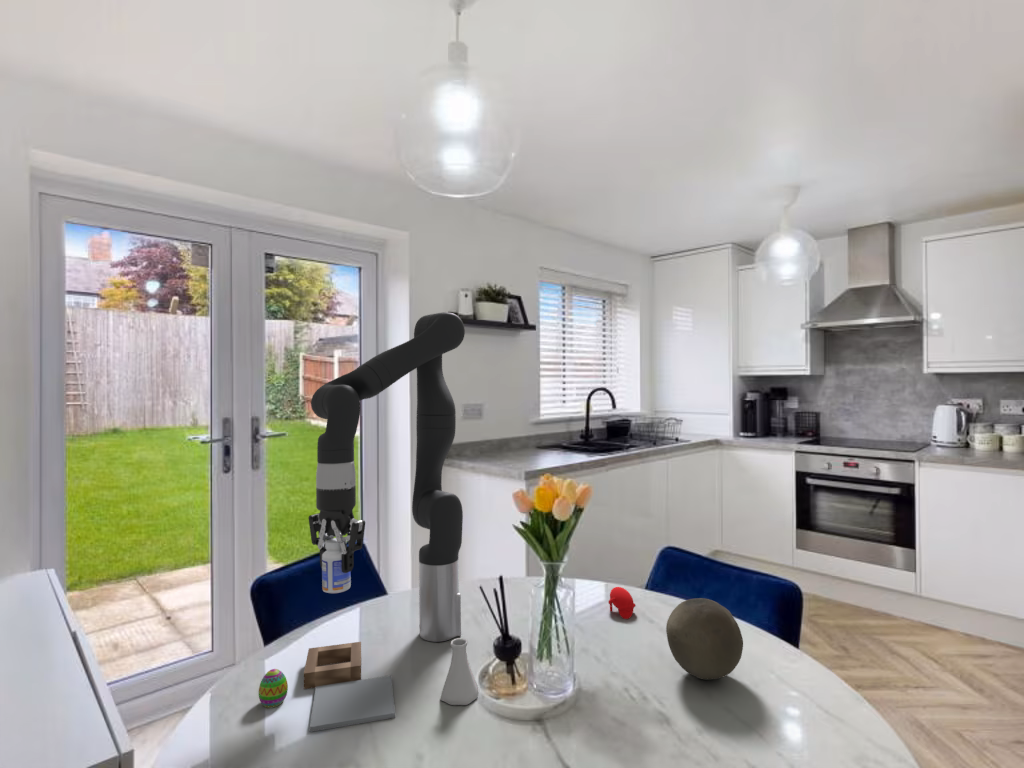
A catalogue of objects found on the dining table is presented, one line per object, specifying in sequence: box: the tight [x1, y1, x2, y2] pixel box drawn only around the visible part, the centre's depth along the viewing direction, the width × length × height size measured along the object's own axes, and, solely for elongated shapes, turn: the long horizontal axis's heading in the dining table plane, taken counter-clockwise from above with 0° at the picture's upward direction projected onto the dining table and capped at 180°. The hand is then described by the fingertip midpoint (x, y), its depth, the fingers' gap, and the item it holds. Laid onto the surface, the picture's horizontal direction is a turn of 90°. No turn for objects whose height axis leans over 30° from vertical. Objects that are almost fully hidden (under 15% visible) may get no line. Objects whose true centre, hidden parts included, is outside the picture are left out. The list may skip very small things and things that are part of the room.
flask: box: [439, 637, 479, 706], centre depth 101 cm, size 7×7×10 cm
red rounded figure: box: [608, 586, 636, 620], centre depth 137 cm, size 8×6×6 cm
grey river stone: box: [665, 597, 744, 681], centre depth 106 cm, size 14×14×15 cm
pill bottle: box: [321, 537, 352, 594], centre depth 108 cm, size 5×5×10 cm
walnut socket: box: [303, 641, 362, 690], centre depth 110 cm, size 11×11×3 cm
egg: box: [258, 668, 289, 709], centre depth 99 cm, size 5×5×6 cm
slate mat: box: [309, 674, 396, 733], centre depth 99 cm, size 14×13×1 cm
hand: (336, 568), depth 108 cm, fingers closed on pill bottle, 5 cm apart
